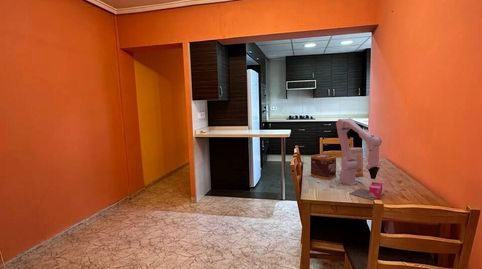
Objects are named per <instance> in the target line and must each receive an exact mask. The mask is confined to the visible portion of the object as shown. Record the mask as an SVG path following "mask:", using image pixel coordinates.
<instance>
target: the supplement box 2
mask: <svg viewBox="0 0 482 269" xmlns="http://www.w3.org/2000/svg"><path fill="white" fill-rule="evenodd" d="M368 190H369V197H374V198H377V199H381V198H382V196H381V194H382V193H383V183H381V182H374V181H373V182H371V184H370V185H369V189H368Z"/></svg>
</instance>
